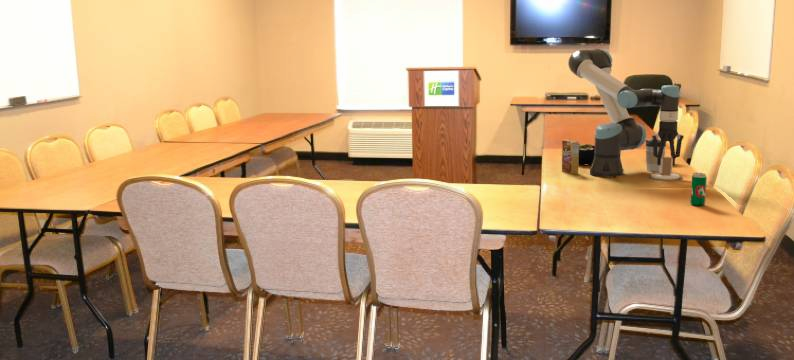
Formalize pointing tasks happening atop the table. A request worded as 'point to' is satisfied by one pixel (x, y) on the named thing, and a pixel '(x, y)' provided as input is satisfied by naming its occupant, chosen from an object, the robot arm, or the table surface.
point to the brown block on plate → (665, 171)
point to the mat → (664, 180)
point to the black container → (586, 154)
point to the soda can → (698, 189)
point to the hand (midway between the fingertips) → (665, 172)
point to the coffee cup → (650, 159)
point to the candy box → (570, 156)
